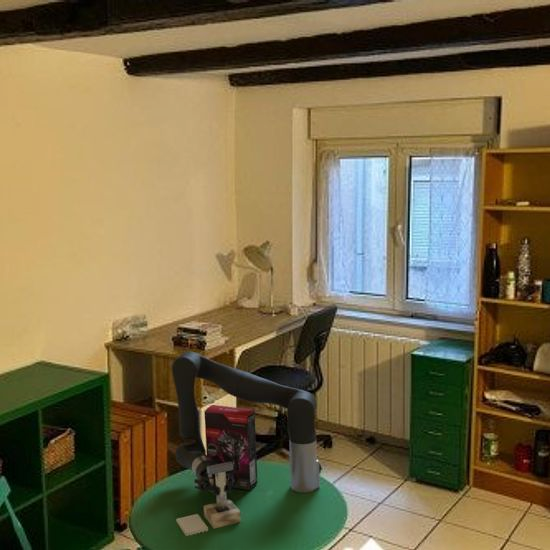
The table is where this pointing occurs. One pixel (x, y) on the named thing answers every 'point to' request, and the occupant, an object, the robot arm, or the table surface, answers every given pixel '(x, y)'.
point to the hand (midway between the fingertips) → (224, 491)
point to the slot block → (222, 515)
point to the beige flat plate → (192, 524)
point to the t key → (220, 483)
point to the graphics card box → (233, 442)
